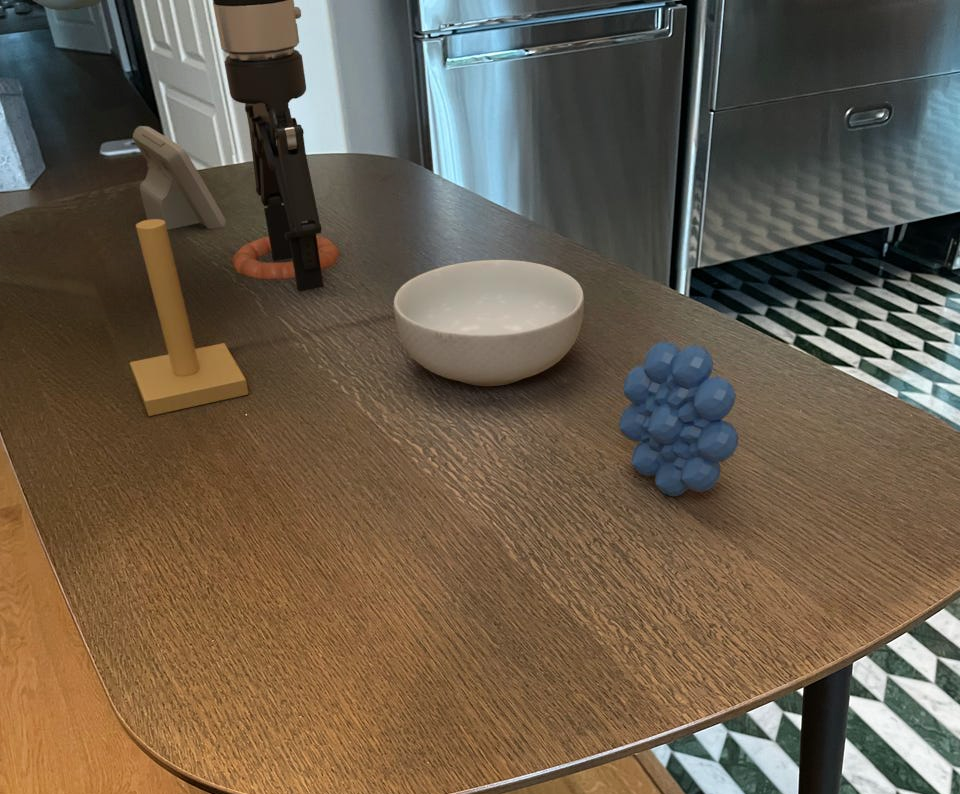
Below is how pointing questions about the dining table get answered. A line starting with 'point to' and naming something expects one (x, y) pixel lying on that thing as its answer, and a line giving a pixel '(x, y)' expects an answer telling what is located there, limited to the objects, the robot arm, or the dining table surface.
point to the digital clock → (174, 184)
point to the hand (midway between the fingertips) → (298, 280)
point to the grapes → (678, 418)
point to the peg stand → (179, 341)
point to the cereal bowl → (489, 320)
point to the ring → (250, 267)
